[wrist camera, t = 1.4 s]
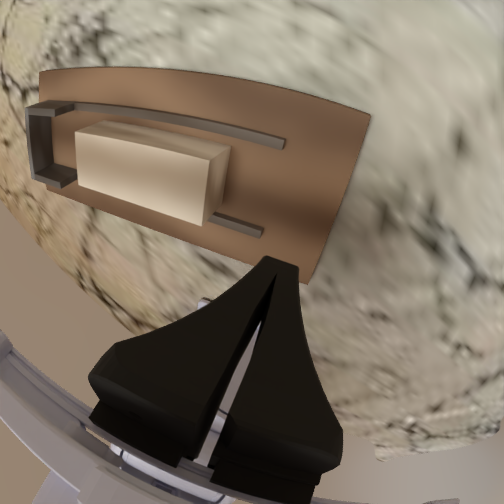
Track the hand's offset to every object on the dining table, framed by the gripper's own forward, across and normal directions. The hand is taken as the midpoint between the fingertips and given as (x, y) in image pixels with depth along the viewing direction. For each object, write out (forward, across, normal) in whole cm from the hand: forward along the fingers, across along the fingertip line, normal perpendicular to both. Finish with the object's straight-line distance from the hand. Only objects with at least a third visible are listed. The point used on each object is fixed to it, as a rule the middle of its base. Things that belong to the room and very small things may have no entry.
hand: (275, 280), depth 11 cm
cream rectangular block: (+7, +10, 0) cm, 12 cm away
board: (+8, +11, 0) cm, 14 cm away
